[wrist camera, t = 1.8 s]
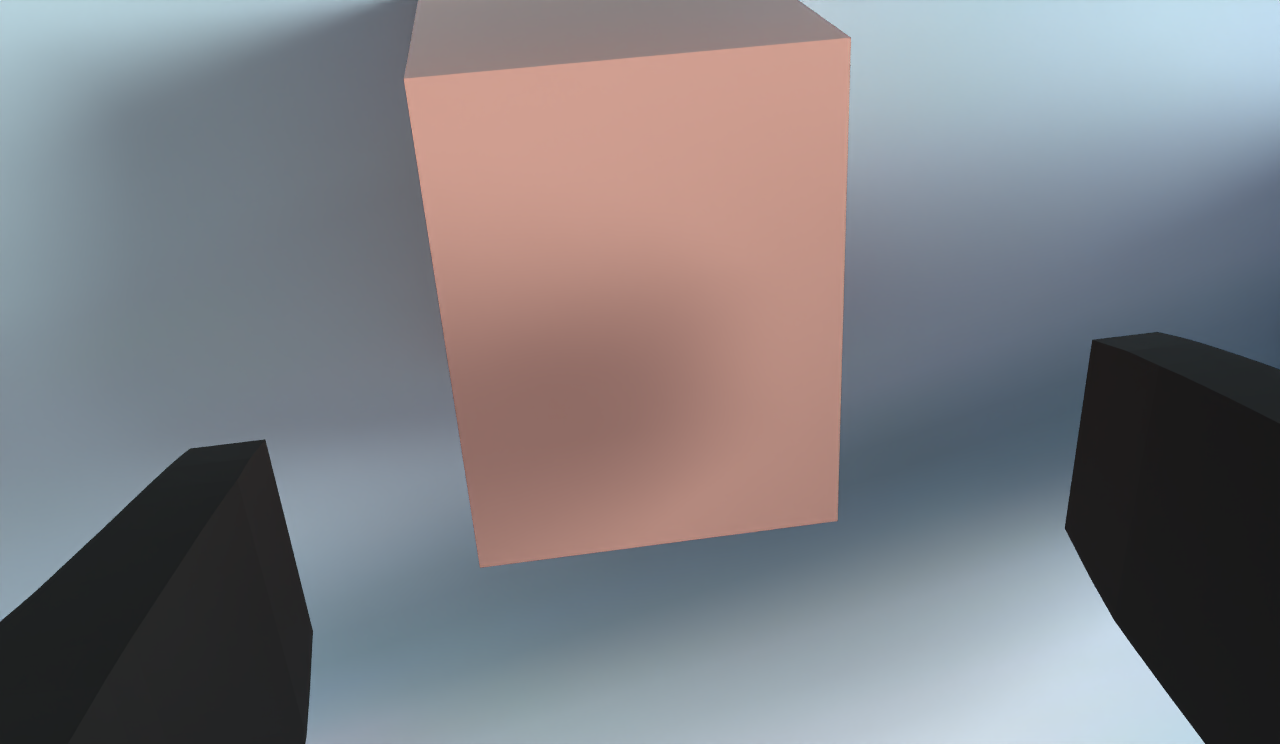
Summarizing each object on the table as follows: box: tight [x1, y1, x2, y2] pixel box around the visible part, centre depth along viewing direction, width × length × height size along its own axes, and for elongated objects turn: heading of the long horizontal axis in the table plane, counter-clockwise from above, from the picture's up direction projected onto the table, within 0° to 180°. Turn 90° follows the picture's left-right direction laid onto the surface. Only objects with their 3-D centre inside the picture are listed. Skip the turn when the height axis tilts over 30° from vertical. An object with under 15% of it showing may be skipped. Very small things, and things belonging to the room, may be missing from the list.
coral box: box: [404, 0, 851, 568], centre depth 15 cm, size 4×6×5 cm
